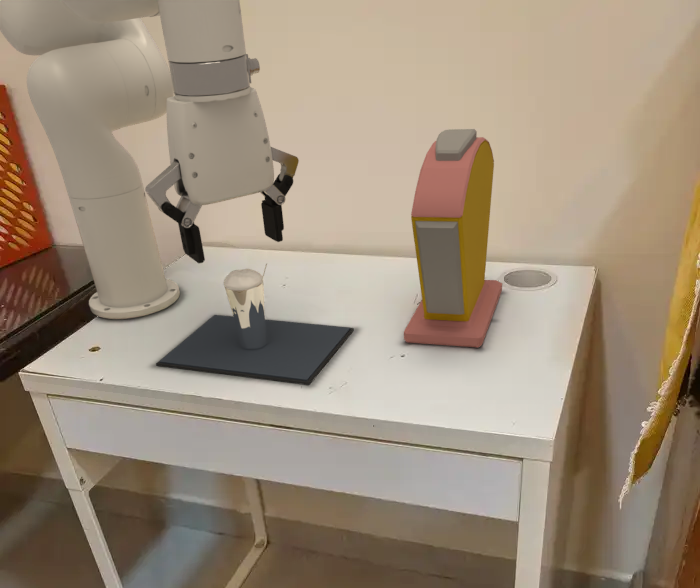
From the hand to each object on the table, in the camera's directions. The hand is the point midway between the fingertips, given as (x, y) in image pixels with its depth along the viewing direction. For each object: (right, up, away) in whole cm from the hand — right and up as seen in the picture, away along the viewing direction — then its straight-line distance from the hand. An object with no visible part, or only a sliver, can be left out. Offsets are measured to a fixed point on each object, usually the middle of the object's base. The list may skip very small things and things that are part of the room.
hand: (236, 248), depth 81 cm
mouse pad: (+2, -10, +7) cm, 12 cm away
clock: (+26, -6, +9) cm, 28 cm away
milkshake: (+2, -10, +6) cm, 12 cm away
